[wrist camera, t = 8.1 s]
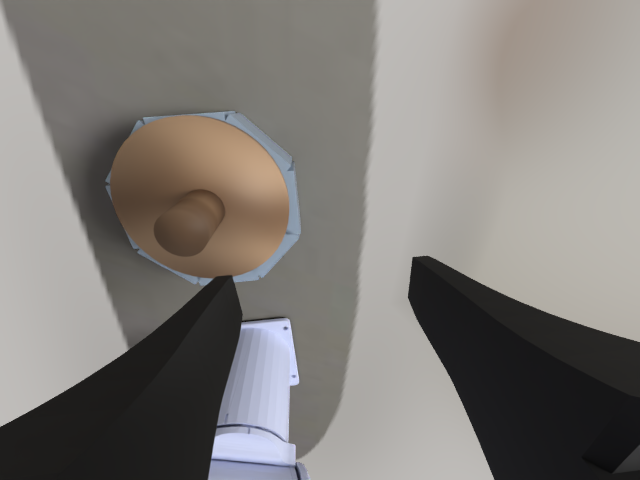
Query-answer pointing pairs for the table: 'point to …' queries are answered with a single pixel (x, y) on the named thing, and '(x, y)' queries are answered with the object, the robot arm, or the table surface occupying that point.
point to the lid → (200, 196)
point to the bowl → (289, 176)
